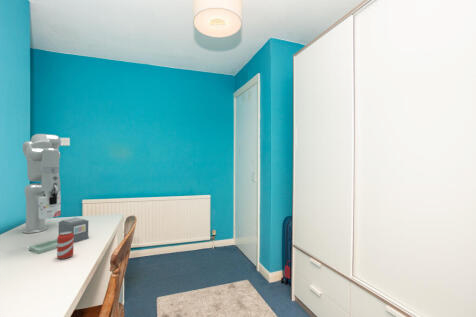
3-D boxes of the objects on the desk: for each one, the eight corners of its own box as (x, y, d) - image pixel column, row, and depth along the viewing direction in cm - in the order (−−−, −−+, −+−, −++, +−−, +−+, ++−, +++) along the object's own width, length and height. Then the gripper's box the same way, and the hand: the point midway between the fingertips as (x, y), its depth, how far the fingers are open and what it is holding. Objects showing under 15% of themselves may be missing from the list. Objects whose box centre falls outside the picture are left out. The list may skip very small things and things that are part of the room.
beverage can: (53, 258, 109) (54, 234, 109) (67, 253, 115) (67, 230, 115) (63, 260, 108) (63, 235, 108) (76, 255, 114) (76, 231, 114)
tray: (28, 250, 119) (28, 246, 119) (59, 241, 132) (59, 238, 132) (38, 253, 115) (38, 250, 115) (69, 244, 127) (69, 241, 127)
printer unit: (58, 240, 134) (58, 220, 134) (76, 235, 143) (76, 217, 143) (70, 243, 128) (70, 223, 129) (88, 238, 138) (88, 219, 138)
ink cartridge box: (53, 215, 128) (54, 189, 129) (60, 215, 127) (61, 189, 128) (37, 218, 120) (38, 191, 120) (45, 219, 119) (45, 191, 119)
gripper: (66, 171, 124) (66, 204, 123) (50, 170, 131) (49, 201, 131) (50, 171, 117) (50, 206, 117) (34, 170, 124) (33, 203, 124)
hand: (49, 203), depth 124 cm, fingers closed on ink cartridge box, 5 cm apart
